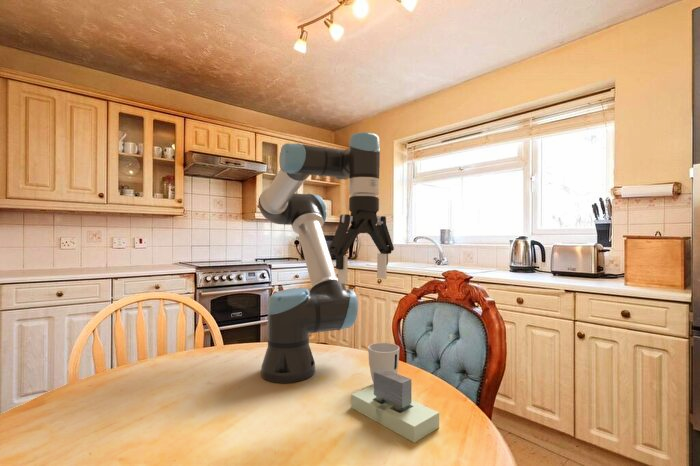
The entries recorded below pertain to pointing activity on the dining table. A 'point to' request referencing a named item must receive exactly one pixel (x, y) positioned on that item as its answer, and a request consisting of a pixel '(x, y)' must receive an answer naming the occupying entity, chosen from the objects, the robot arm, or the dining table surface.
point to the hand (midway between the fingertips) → (363, 280)
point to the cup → (383, 357)
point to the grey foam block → (392, 389)
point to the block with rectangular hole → (397, 415)
